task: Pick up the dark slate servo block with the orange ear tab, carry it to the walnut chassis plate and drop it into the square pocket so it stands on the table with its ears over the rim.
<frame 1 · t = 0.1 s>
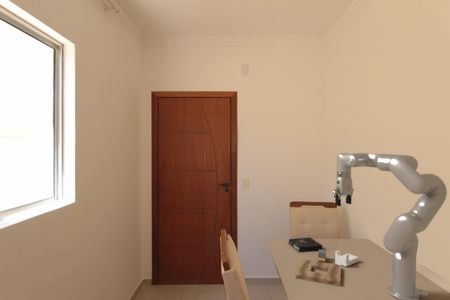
hand: (343, 204, 163), 37 cm above the table, tool pointing down, fingers open, 9 cm apart
portable cd player: (304, 248, 199), on the table
bracket: (346, 263, 173), on the table
chassis plate: (319, 273, 159), on the table
servo block: (322, 261, 176), on the table
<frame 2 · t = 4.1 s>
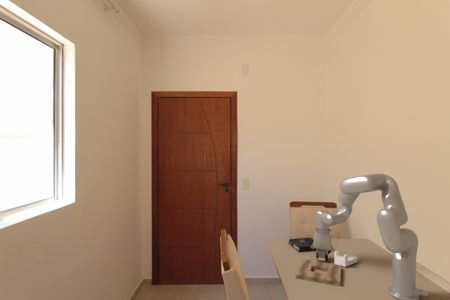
hand: (322, 259, 176), 1 cm above the table, tool pointing down, fingers closed on servo block, 4 cm apart
servo block: (322, 261, 176), on the table, touching gripper
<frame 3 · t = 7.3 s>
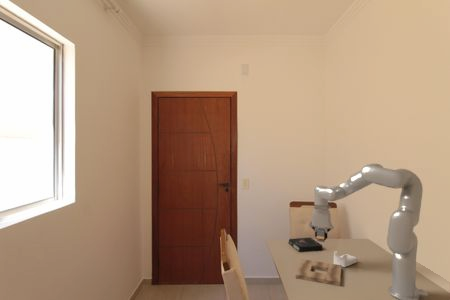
hand: (321, 238, 167), 17 cm above the table, tool pointing down, fingers closed on servo block, 4 cm apart
servo block: (321, 239, 167), point 16 cm above the table, touching gripper
when the fingers open (2 cm above the table, at t = 10.4 s): servo block drops 1 cm, resting in chassis plate.
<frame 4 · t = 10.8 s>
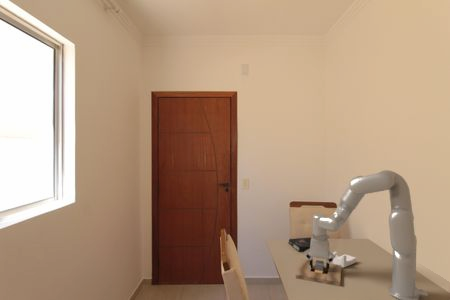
hand: (319, 268, 159), 3 cm above the table, tool pointing down, fingers open, 7 cm apart
servo block: (319, 273, 159), resting in chassis plate
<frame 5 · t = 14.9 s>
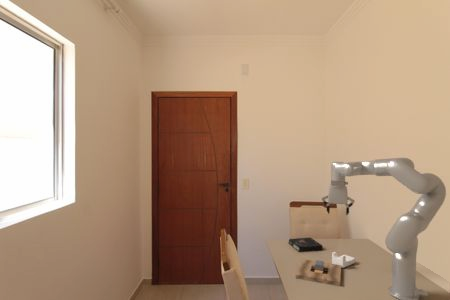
hand: (337, 213, 162), 32 cm above the table, tool pointing down, fingers open, 9 cm apart
at the end: servo block 0.1 cm off-centre on the chassis plate, point 0.0 cm above the chassis plate's base; servo block tilted 0°; the gripper is holding nothing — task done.
